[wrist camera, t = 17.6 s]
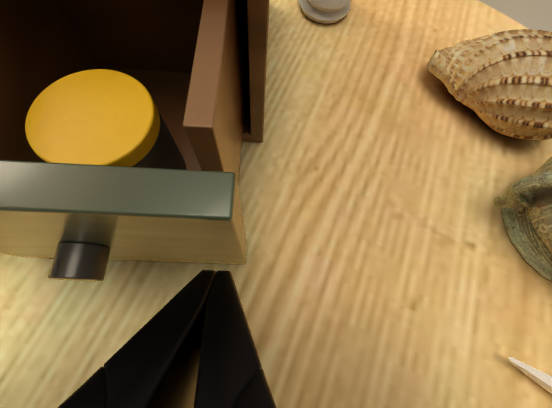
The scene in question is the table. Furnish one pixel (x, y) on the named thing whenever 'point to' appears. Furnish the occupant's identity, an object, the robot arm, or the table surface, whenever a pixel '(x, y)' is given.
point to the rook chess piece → (325, 10)
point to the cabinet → (255, 67)
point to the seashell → (502, 80)
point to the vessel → (531, 218)
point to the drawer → (119, 179)
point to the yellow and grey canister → (100, 123)
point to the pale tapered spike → (534, 374)
